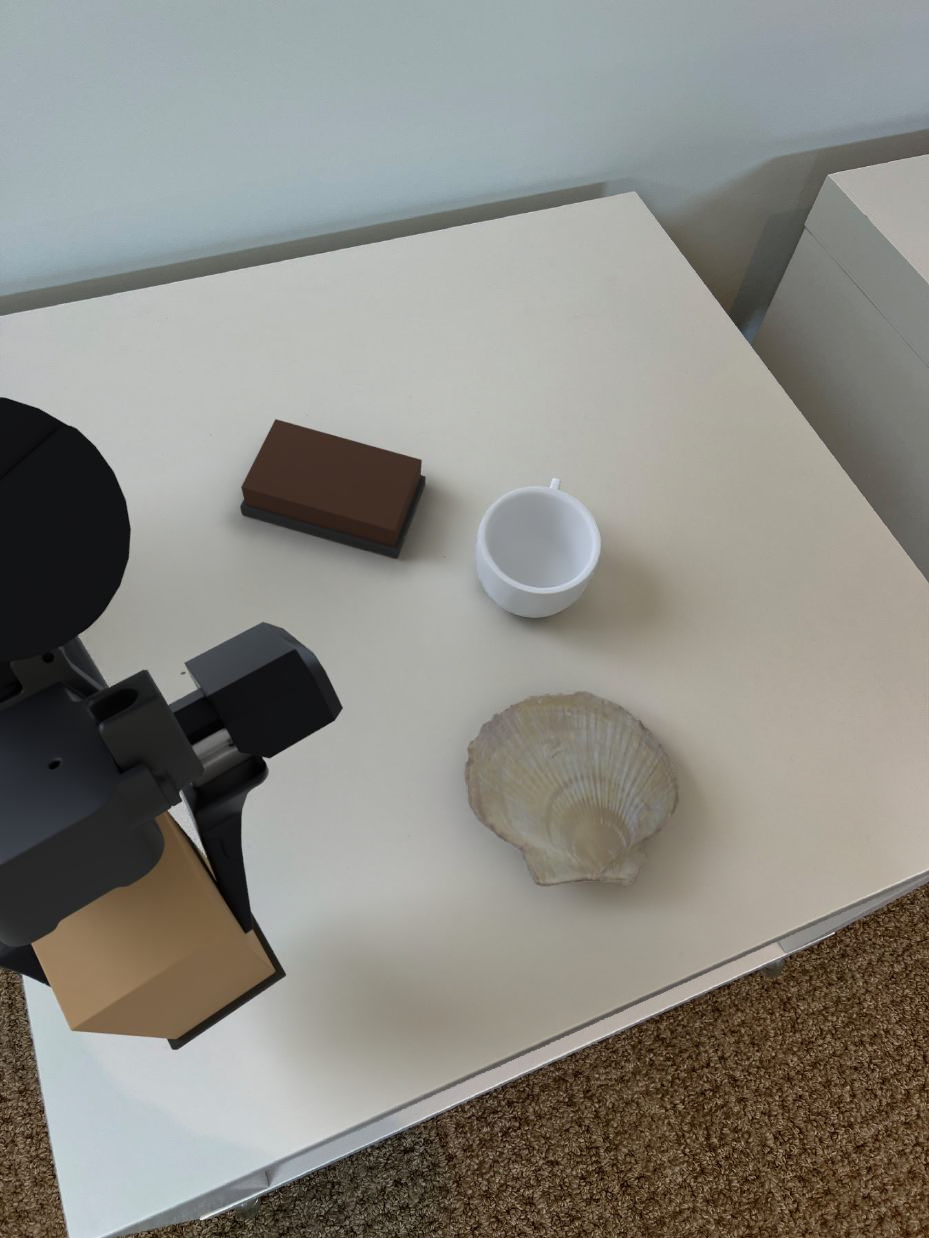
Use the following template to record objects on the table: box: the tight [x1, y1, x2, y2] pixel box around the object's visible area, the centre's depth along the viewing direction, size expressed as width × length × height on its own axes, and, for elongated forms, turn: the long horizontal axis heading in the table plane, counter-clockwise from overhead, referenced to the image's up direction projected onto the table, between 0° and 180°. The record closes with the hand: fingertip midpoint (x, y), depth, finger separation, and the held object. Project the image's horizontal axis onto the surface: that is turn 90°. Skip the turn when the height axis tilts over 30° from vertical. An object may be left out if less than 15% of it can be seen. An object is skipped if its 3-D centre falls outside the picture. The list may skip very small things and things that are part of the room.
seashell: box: [463, 691, 680, 888], centre depth 50 cm, size 12×12×3 cm
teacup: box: [475, 477, 602, 619], centre depth 56 cm, size 10×8×5 cm
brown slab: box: [239, 418, 427, 560], centre depth 58 cm, size 11×6×3 cm, turn 74°
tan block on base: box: [31, 810, 287, 1051], centre depth 34 cm, size 6×6×16 cm
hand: (183, 967), depth 33 cm, fingers closed on tan block on base, 5 cm apart
